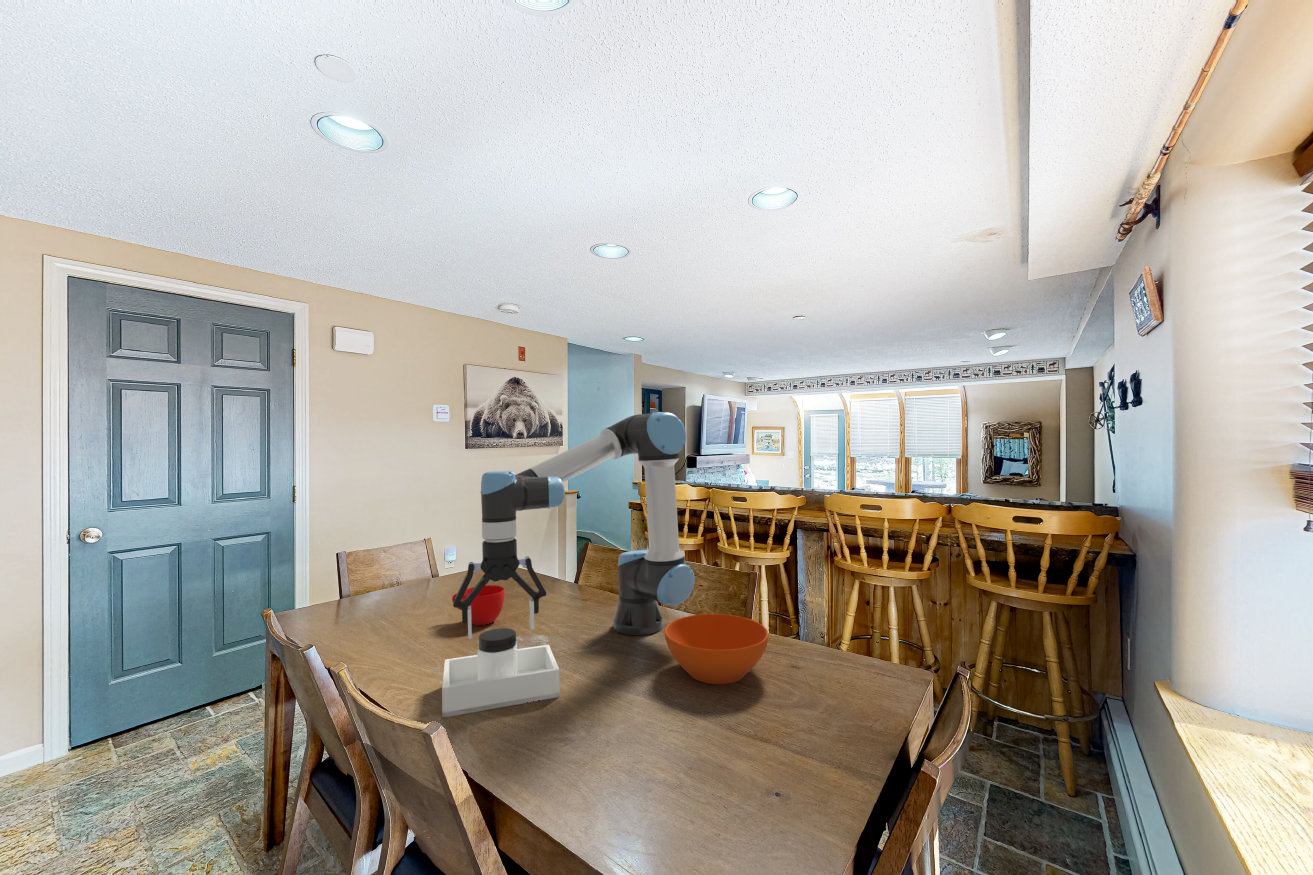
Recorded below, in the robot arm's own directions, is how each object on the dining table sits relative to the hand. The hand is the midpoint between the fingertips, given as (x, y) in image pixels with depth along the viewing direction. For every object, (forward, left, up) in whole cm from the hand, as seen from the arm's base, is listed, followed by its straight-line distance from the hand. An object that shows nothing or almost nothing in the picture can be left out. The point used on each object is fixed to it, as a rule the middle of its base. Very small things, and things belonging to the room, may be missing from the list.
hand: (501, 632), depth 118 cm
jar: (+1, 0, -12) cm, 12 cm away
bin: (0, 0, -13) cm, 13 cm away
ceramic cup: (+4, -52, -13) cm, 54 cm away
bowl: (-50, +9, -13) cm, 52 cm away
